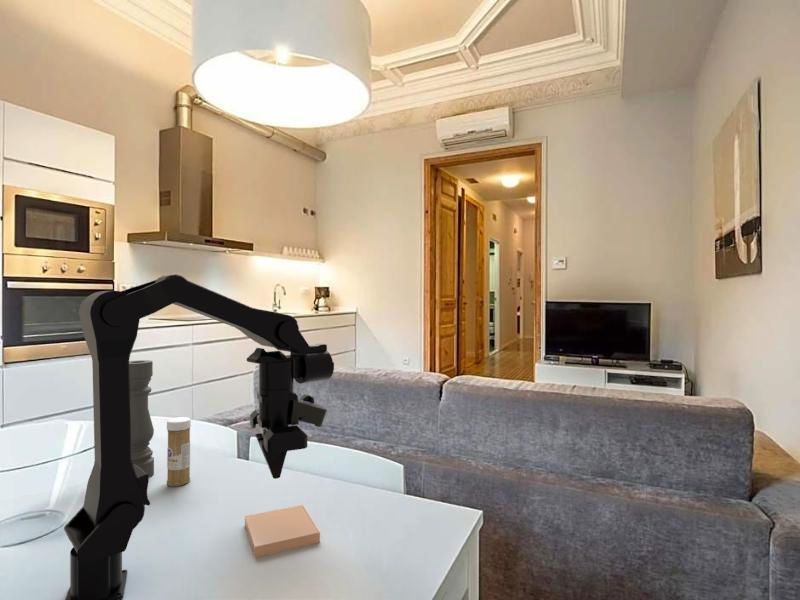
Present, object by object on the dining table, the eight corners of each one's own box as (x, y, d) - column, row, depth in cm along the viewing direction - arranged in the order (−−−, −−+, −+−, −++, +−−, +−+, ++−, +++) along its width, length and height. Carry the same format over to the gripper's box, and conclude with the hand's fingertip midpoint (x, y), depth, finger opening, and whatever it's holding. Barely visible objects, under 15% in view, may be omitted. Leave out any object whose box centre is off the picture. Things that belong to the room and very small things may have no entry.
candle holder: (117, 482, 98) (117, 364, 98) (126, 472, 104) (126, 360, 104) (150, 479, 99) (150, 363, 99) (157, 469, 105) (157, 359, 105)
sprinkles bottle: (161, 485, 96) (161, 420, 96) (179, 477, 101) (179, 415, 101) (178, 488, 95) (178, 422, 95) (195, 480, 99) (195, 417, 99)
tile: (302, 516, 84) (319, 545, 74) (244, 528, 79) (254, 560, 69) (302, 504, 84) (319, 532, 74) (244, 516, 79) (254, 546, 69)
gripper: (338, 392, 75) (338, 489, 75) (308, 375, 92) (308, 454, 92) (268, 399, 70) (268, 502, 70) (249, 380, 87) (249, 463, 87)
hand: (276, 477), depth 80 cm, fingers closed
